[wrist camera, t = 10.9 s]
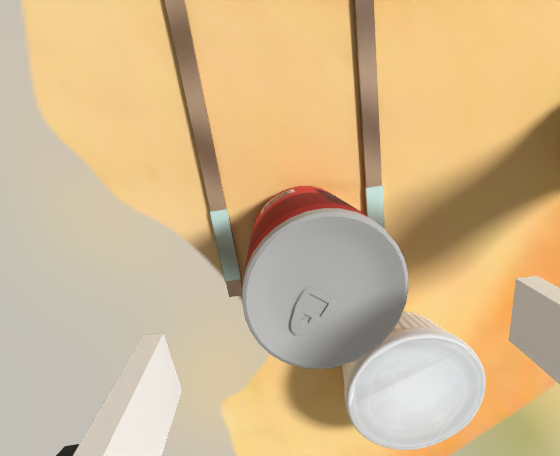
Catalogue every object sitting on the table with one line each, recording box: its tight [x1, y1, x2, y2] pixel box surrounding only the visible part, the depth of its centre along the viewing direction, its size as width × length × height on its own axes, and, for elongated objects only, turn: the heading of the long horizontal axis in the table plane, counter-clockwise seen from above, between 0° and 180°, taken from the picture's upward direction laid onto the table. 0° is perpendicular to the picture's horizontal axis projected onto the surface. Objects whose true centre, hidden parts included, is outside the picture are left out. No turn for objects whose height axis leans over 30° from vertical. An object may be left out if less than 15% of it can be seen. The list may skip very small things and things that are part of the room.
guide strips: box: [164, 0, 385, 297], centre depth 22 cm, size 27×14×1 cm, turn 8°
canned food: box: [242, 186, 408, 369], centre depth 19 cm, size 8×8×11 cm
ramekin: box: [342, 311, 486, 450], centre depth 26 cm, size 11×11×5 cm
